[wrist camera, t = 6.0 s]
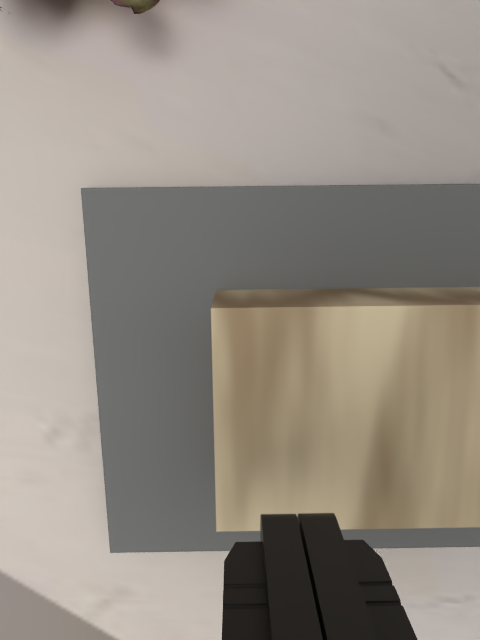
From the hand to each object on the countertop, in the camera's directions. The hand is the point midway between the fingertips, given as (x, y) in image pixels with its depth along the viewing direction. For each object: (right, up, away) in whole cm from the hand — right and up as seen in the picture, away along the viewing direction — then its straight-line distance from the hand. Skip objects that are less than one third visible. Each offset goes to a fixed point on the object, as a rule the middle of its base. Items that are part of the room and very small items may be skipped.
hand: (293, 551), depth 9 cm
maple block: (-2, +2, +8) cm, 8 cm away
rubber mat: (+1, +2, +10) cm, 11 cm away
